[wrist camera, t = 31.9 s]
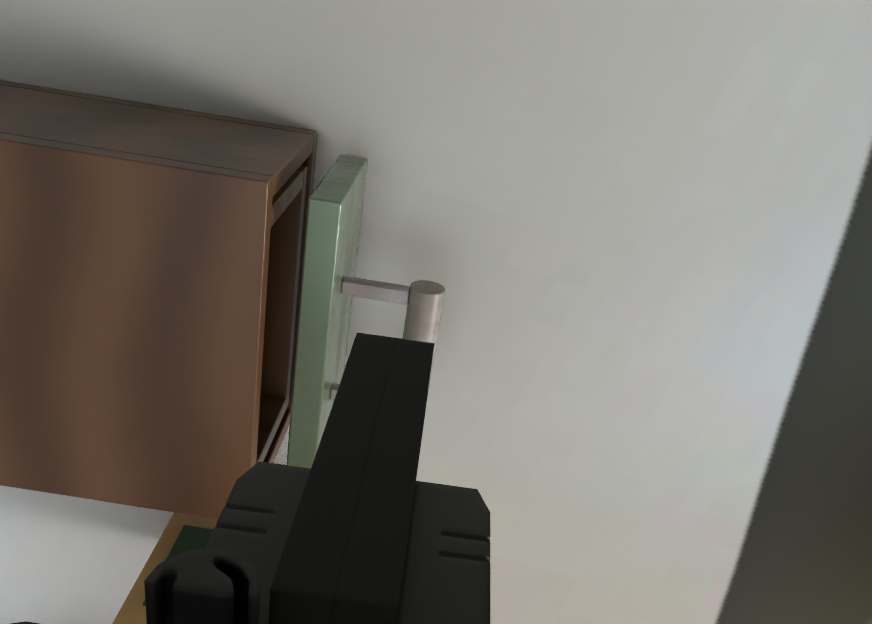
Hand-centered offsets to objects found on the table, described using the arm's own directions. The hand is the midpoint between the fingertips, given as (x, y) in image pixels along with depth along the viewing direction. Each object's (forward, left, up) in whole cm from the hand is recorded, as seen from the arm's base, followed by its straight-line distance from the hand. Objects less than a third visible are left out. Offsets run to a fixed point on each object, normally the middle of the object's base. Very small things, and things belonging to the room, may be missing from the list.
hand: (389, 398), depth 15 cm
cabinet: (+12, -9, -21) cm, 26 cm away
